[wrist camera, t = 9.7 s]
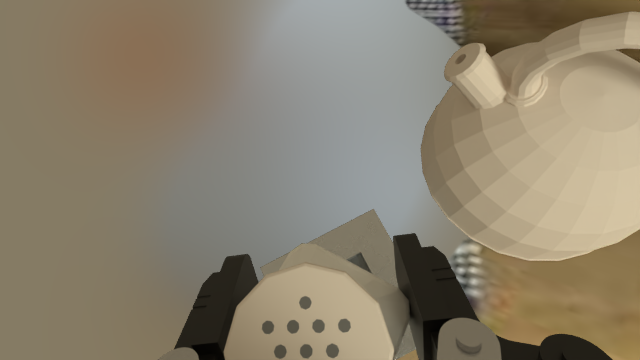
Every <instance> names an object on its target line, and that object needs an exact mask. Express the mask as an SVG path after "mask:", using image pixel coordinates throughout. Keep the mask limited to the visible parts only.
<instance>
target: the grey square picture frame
mask: <svg viewBox="0 0 640 360" xmlns="http://www.w3.org/2000/svg"><path fill="white" fill-rule="evenodd" d="M307 244H316V245H318V246H320V247H322V248H324V249H326V250H328V251H330V252H332V253H334V254H336V255H338V256H339V257H341V258H343V259H345V260H347V261H349V262H351V263H353V264H355V265H357V266H358V267H360V268H362V269H364V270H366V271H368V272H370V273H372V274H373V275H375V276H377V277H379V278H381V279H383V280H384V281H386V282H388V283H390V284H392V285H394V286H395V287H397V288H399V287H398V283H397V278H396V271H395V257H394V244H393V242H392V240H391V239H390V237H389V235H388V233H387V232H386V230H385V228H384V226H383V225H382V223H381V221H380V219H379V218H378V216H377V214H376V213H375V211H374V209H372V210H371V211H368V212H366V213H365V214H363V215H361V216H359V217H357V218H355V219H353V220H351V221H349V222H347V223H345V224H343V225H341V226H339V227H338V228H336V229H334V230H332V231H330V232H328V233H326V234H324V235H322V236H320V237H318V238H316V239H314V240H312V241H310V242H309V243H307ZM288 254H289V253H287V254H285V255H283V256H281V257H280V258H278V259H276V260H274V261H272V262H270V263H268V264H266V265H264V266H262V267H260V268H261V270H262V273H263V275H264V276H265V275H266V274H270V273H273V272H276V271H279V269H280V267H281V266H282V264H283V262H284V261H285V259H286V257H287V256H288ZM415 349H416V347H415V344H414V340H413V337H412V333H411V330H410V326H409V323H408V325H407V328H406V331H405V333H404V336H403V339H402V341H401V344H400V346H399V349H398V351H397V354H396V356H395V358H394V360H396V359H398V358H400V357H402V356H404V355H406V354H407V353H409V352H411V351H413V350H415Z"/></svg>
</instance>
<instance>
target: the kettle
mask: <svg viewBox="0 0 640 360" xmlns="http://www.w3.org/2000/svg"><path fill="white" fill-rule="evenodd" d="M624 48H629V49H640V12H626V13H620V14H615V15H609V16H603V17H598V18H592V19H587V20H584V21H581V22H578V23H576V24H573V25H571V26H568V27H566V28H563V29H561V30H558V31H556V32H553V33H552V34H550V35H549V36H547V37H546V38H544V39H543V40H542V41H540V42H535V43H527V44H523V45H520V46H516V47H513V48H509V49H505V50H503V51H501V52H499V53H498V54H496V55H494V56H492V57H490V56H489V54H488V53H487V52H486V47H485V46H484V44H481V43H471V44H467V45H465V46H464V47H462V48H460V49H459V50H458V51H457V52H455V53H454V54H453V56H452V57H451V58H450V59H449V61H448V62H447V64H446V66H445V71H444V76H445V79H446V80H447V81H450V82H452V83H453V85H452V86H451V87H450V88H449V90H448V91H447V93H446V94H445V96H444V97H443V99H442V100H441V102H440V104H438V105H437V106H436V108H435V110H434V112H433V114H432V115H431V117H430V119H429V121H428V122H427V124H426V126H425V131H424V135H423V140H422V145H421V157H422V169H423V174H424V176H425V180H426V182H427V185H428V187H429V190H430V193H431V195H432V197H433V199H434V200H435V201H436V203H437V204H438V206H439V207H440V208H441V210H442V211H443V213H444V214H445V215H446V217H447V218H448V219H449V220H450V221H451V222H452V223H453V224H454V225H456V226H457V227H458V228H459V229H460V230H461V231H463V232H464V233H465V234H466V235H467V236H468V237H470V238H471V239H473V240H475V241H477V242H479V243H481V244H483V245H484V246H486V247H488V248H490V249H492V250H494V251H496V252H498V253H502V254H506V255H510V256H514V257H517V258H521V259H525V260H553V261H560V260H564V259H567V258H571V257H575V256H579V255H583V254H587V253H589V252H591V251H593V250H595V249H599V248H602V247H605V246H608V245H611V244H615V243H618V242H619V241H621V240H623V239H624V238H626V237H627V236H629V235H631V234H632V233H634V232H636V231H637V230H639V229H640V63H639V62H637V61H635V60H634V59H632V58H630V57H628V56H627V55H625V54H623V53H621V52H619V51H616V50H615V49H624Z"/></svg>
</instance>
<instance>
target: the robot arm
mask: <svg viewBox="0 0 640 360" xmlns="http://www.w3.org/2000/svg"><path fill="white" fill-rule="evenodd" d="M393 244H394V257H395V271H396V278H397V283H398V287H399V289H400V290H401V291H402V293H403V294H404V295H405V296H406V298H407V299H408V300H409V304H410V320H409V326H410V330H411V333H412V337H413V340H414V344H415V347H416V351H417V354H418V358H419V360H612V359H611V358H610V357H609V356H608V355H607V354H606V353H605V352H603V351H602V350H601V349H600V348H598V347H597V346H595V345H594V344H592V343H590V342H589V341H587V340H584V339H582V338H580V337H576V336H573V335H568V334H555V335H551V336H548V337H546V338H545V339H544V340H543V341H542V343H541V345H540V346H536V345H531V344H525V343H519V342H514V341H510V340H507V339H504V338H501V337H499V336H497V335H495V334H494V333H493V331H492V330H491V329H489V328H488V327H487V326H486V325H484V324H483V323H481V322H480V321H479V320H478V318H477V316H476V315H475V313H474V311H473V309H472V307H471V305H470V303H469V301H468V299H467V297H466V295H465V293H464V291H463V289H462V287H461V285H460V284H459V282H458V280H457V279H456V276H455V274H454V272H453V270H452V269H451V266H450V264H449V262H448V260H447V258H446V256H445V255H444V254H443V253H441V252H440V251H439V250H438V249H436V248H435V247H434V246H432V247H421V245H420V243H419V240H418V238H417V236H416V234H415V233H412V234H405V235H397V236H393ZM257 284H258V280H257V277H256V274H255V270H254V267H253V264H252V261H251V258H250V256H249V255H248V254H244V255H236V256H228V257H226V259H225V261H224V263H223V266H222V268H221V271H220V272H217V273H213V274H212V275H211V276H210V277H209V278H208V279H207V280H206V281H205V282H204V283H203V285H202V287H201V289H200V292H199V294H198V296H197V299H196V301H195V303H194V305H193V310H191V312H190V314H189V316H188V319H187V321H186V323H185V326H184V328H183V330H182V333H181V335H180V337H179V339H178V341H177V344H176V346H175V348H174V350H172V351H170V352H168V353H166V354H164V355H163V356H162V357H160V358H159V359H158V360H225V357H224V349H225V345H226V342H227V338H228V335H229V331H230V328H231V324H232V321H233V317H234V314H235V310H236V307H237V306H238V304H239V303H240V302H241V301H242V300H243V299H244V298H245V297H246V296H247V295H248V294H249V293H250V292H251V290H252V289H253V288H254V287H255V286H256V285H257Z"/></svg>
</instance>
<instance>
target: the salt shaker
mask: <svg viewBox="0 0 640 360" xmlns="http://www.w3.org/2000/svg"><path fill="white" fill-rule="evenodd" d="M409 320H410V304H409V300H408V299H407V298H406V296H405V295H404V294H403V293H402V291H401V290H400V289H399V288H397V287H395V286H394V285H392V284H390V283H388V282H386V281H384V280H383V279H381V278H379V277H377V276H375V275H373V274H372V273H370V272H368V271H366V270H364V269H362V268H360V267H358V266H357V265H355V264H353V263H351V262H349V261H347V260H345V259H343V258H341V257H339V256H338V255H336V254H334V253H332V252H330V251H328V250H326V249H324V248H322V247H320V246H318V245H316V244H303V243H302V244H300V245H299V246H298V247H296V248H295V249H293V250H292V251H291V252H289V254H288V256H287V257H286V259H285V261H284V262H283V264H282V266H281V267H280V269H279V271H276V272H273V273H270V274H266V275H265V276H264V278H263V279H262V280H261V281H260V282H259V283H258V284H257V285H256V286H255V287H254V288H253V289H252V290H251V292H250V293H249V294H248V295H247V296H246V297H245V298H244V299H243V300H242V301H241V302H240V303H239V304H238V306H237V307H236V310H235V314H234V317H233V321H232V324H231V328H230V331H229V335H228V338H227V342H226V345H225V349H224V357H225V360H394V358H395V356H396V354H397V351H398V349H399V346H400V344H401V341H402V339H403V336H404V333H405V331H406V328H407V325H408V323H409Z"/></svg>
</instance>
